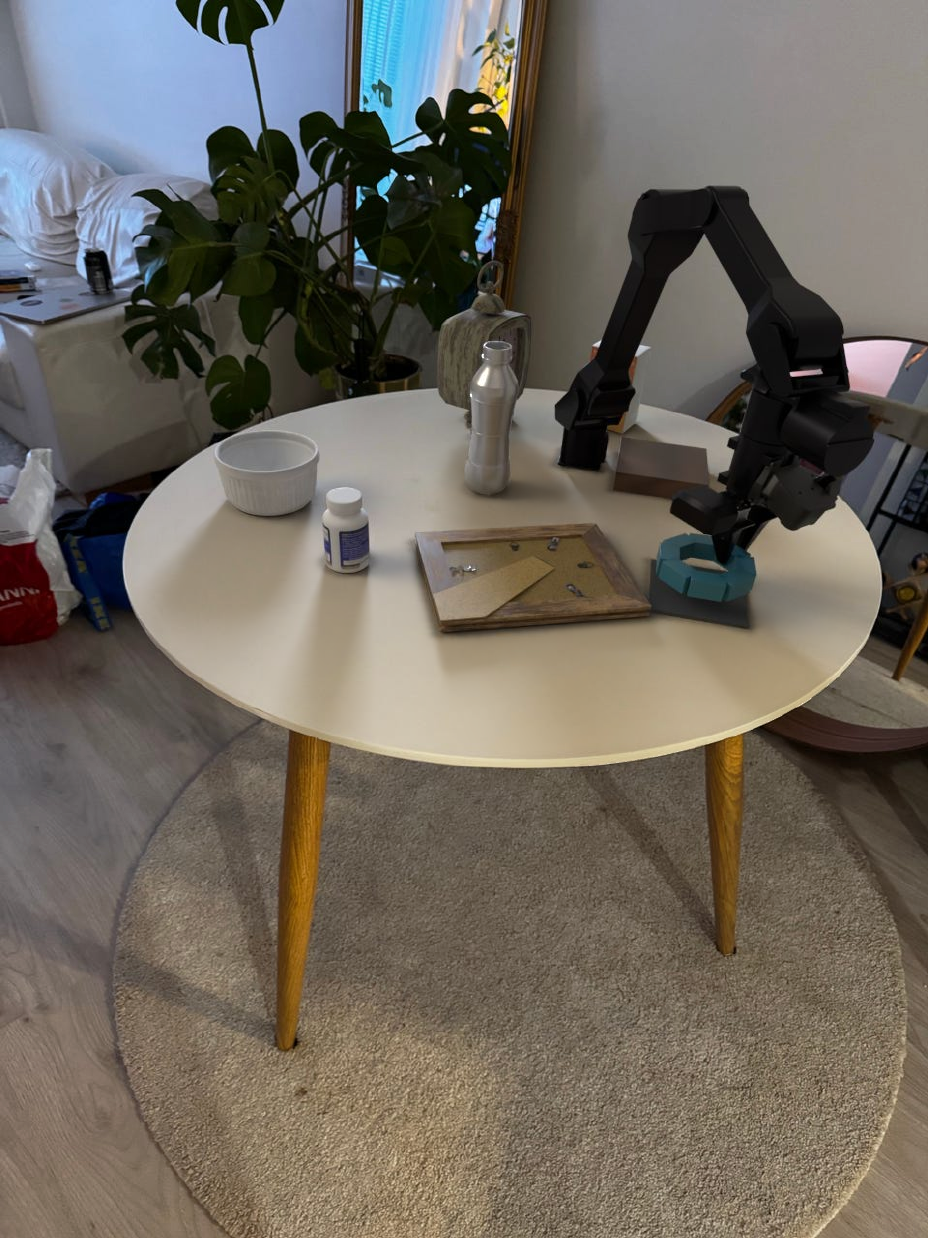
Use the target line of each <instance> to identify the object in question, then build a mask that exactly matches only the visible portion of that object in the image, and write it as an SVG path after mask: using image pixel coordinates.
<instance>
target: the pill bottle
mask: <svg viewBox="0 0 928 1238" xmlns="http://www.w3.org/2000/svg"><path fill="white" fill-rule="evenodd" d="M362 494H363V493H362V492H361V491H359V490H358V489H356V488H354V487H346V486H345V487H337V488H333V489H331V490H329V491H328V492H327V493H326V495H325V500H326V501H325V503H326V508H327V509H326V510H325V511H324V512H323V514H322V515H321V516H322V517H321V521H322V536H323V548H324V549H323V552H324V561H325V564H326V566H327V567H328V569H331V570H332V571H334V572H337V573H342V574H352V573H356V572H360V571H363V569H365V568H366V567H368V565H369V564H370V561H371V556H370V555H371V554H370V550H371V549H370V524H369V522H370V521H369V514H368V512H367V511H366V509H365V508H363V495H362Z"/></svg>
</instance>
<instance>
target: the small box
mask: <svg viewBox="0 0 928 1238" xmlns="http://www.w3.org/2000/svg"><path fill="white" fill-rule="evenodd" d="M600 343H601V340H599V341H598V342H595V343H594V344H592V345H591V350H590V356H589V362H590V361H591V360H592V359H593V358H594V357H595V356H596V354H597V351H598V348H599V346H600ZM651 351H652V347H651V346H647V345H641V344H640V345H639V348H638V350H637V352H636V355H635V357H634V359H633V362H632V364H631V366H630V369H629V375H630V379H631V383H632V386H633V387H634V388H635V390H636V394H635V395H634V397H633V398H632V400H631V403H630V406H629V411H628V412H624V414H623V416H622V418H621V420H620V423H619V425H610V426H607V430H609V431H612V432H615V433H618V434H622V435H623V434H624V433H625V432H627V430H629V429H630V428H631V427H633V426H634V425H635V424H636V423H637V420H638V415H639V409H640V405H641V400H642V395H643V390H644V387H645V380H646V375H647V370H648V365H649V361H650V357H651ZM589 362H588V363H589Z"/></svg>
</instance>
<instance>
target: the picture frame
mask: <svg viewBox="0 0 928 1238" xmlns="http://www.w3.org/2000/svg"><path fill="white" fill-rule="evenodd" d="M414 546H415V549H416V552H417V556H418V559H419V562H420V566H421V570H422V573H423V578H424V580H425V583H426V584H425V585H426V587H427V591H428V594H429V598H430V602H431V606H432V608H433V612H434V616H435V620H436V624H437V627H438V631H439V632H440V633H446V632H448V633H449V632H461V631H462V632H463V631H472V630H485V629H498V628H499V629H500V628H511V627H523V626H536V625H537V626H538V625H550V624H561V623H563V624H564V623H576V622H587V621H588V622H589V621H601V620H602V621H603V620H613V619H627V618H639V617H649V616H650V613H651V612H649V610H651V604H650V603H649V599H648V598H647V597H646V596H645V594H644V592H643V591H642V590H641V588H640V586H639V585H638V583H637V582H636V581H635V579H634V578H633V576H632V575H631V573H630V571H629V569H628V568H627V567H626V566H625V564H624V562H623V560H622V559H621V558H620V557H619V555H618V554H617V552H616V551H615V549H614V548H613V546H612V545H611V544H610V541H609V540H608V539H607V537H606V536H605V534H604V533H603V531H602V530H601V528H600V527H599V525H598V524H597V522H590V523H589V522H588V523H571V524H570V523H565V524H550V525H549V524H547V525H530V526H510V527H491V528H474V529H473V528H471V529H454V530H433V531H416V532H414Z"/></svg>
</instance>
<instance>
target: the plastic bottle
mask: <svg viewBox="0 0 928 1238" xmlns="http://www.w3.org/2000/svg"><path fill="white" fill-rule="evenodd" d="M511 353H512V346H511V345H510V344H508V343H505V342H500V341H491V342H487V343H485V344H484V348H483V355H482V360H483V361H484V364H483V365H482V366H481V367H480V369H479V370H478V371H477V372H476V374H475V375H474V377H473V379H472V382H471V385H470V393H471V407H472V420H471V429H472V435H471V434H470V442H469V447H468V448H469V449H468V454H467V458H466V461H465V465H464V470H463V471H464V472H463V473H464V480H465V483H466V485H467V487H468V488H469V490H471V491H473V492H474V493H477V494H482V495H494V494H495V495H496V494H498V493H501V492H502V491H504V489H506V487H507V486H508V484H509V482H510V478H511V471H512V470H511V459H510V445H511V444H510V441H511V440H510V438H511V430H512V429H511V428H512V424H513V423H512V422H513V417H514V415H513V413H514V414H515V408H516V404H517V401H518V400H517V396H518V391H519V385H518V381H517V378H516V376H515V374H514V372H513V371H512V369H511V367H510V366H509V363H510V362H511V361H512V356H511ZM516 400H517V401H516Z"/></svg>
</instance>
